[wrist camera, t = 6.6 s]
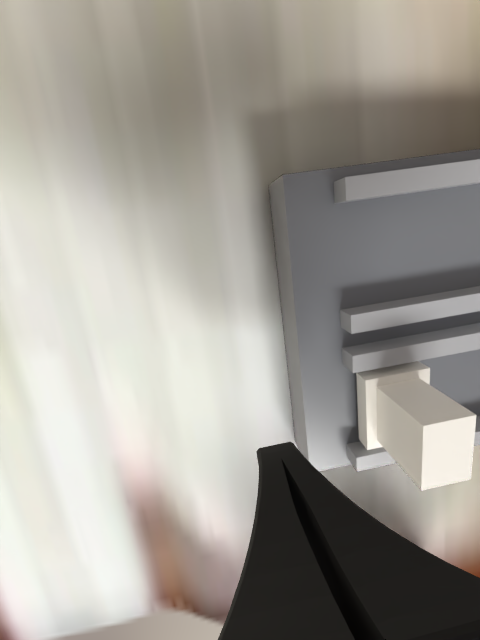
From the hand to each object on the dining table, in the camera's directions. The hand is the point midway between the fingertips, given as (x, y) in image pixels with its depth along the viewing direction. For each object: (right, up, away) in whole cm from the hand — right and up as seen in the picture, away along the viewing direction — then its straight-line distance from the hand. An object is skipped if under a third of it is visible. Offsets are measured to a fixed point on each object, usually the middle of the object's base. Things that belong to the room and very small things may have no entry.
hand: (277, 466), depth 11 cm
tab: (+6, +2, +3) cm, 7 cm away
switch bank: (+9, +6, +5) cm, 12 cm away
